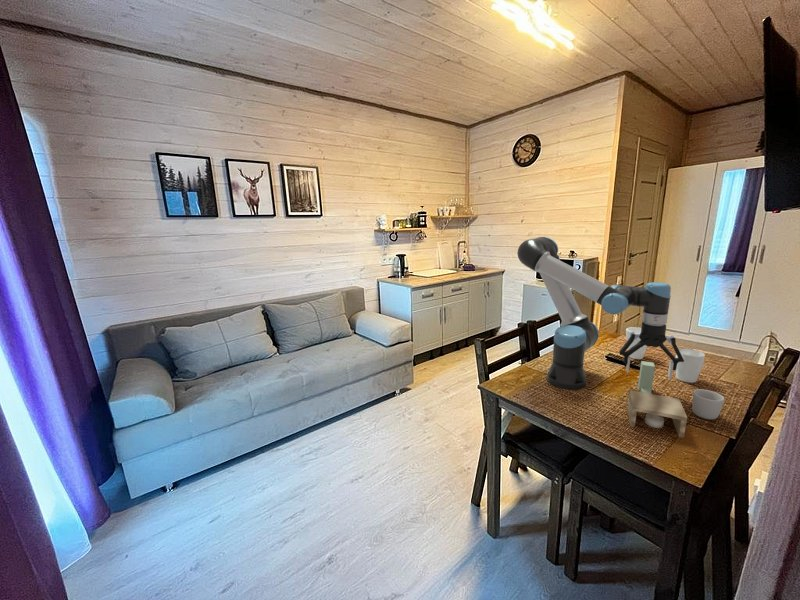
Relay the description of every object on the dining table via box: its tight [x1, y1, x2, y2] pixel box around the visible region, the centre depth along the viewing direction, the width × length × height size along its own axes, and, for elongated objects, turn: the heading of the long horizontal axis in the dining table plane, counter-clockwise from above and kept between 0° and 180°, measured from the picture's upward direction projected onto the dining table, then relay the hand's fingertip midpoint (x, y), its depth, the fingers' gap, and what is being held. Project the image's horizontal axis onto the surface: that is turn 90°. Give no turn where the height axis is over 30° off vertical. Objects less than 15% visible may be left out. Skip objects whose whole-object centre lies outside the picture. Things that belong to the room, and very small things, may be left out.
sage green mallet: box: [637, 360, 656, 394], centre depth 127 cm, size 4×21×11 cm, turn 151°
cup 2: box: [675, 348, 706, 384], centre depth 140 cm, size 9×9×12 cm
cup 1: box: [625, 326, 648, 360], centre depth 162 cm, size 10×10×14 cm
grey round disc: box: [644, 413, 665, 429], centre depth 113 cm, size 5×5×2 cm
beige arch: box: [626, 389, 688, 438], centre depth 114 cm, size 14×12×7 cm
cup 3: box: [692, 388, 725, 421], centre depth 117 cm, size 11×8×8 cm
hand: (647, 374), depth 133 cm, fingers open, 13 cm apart
